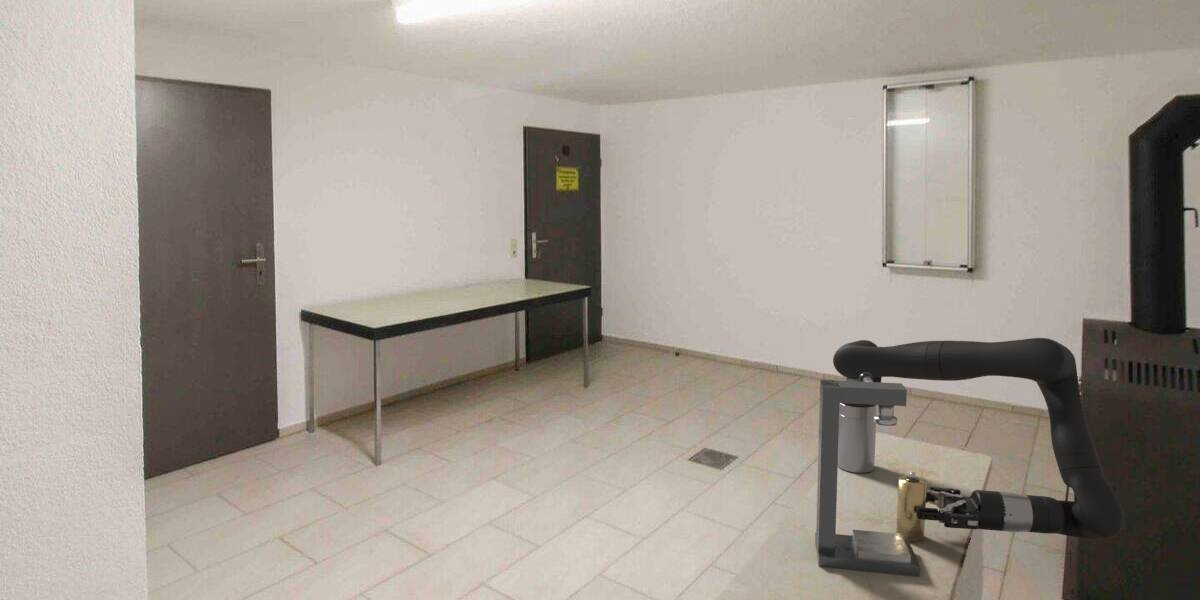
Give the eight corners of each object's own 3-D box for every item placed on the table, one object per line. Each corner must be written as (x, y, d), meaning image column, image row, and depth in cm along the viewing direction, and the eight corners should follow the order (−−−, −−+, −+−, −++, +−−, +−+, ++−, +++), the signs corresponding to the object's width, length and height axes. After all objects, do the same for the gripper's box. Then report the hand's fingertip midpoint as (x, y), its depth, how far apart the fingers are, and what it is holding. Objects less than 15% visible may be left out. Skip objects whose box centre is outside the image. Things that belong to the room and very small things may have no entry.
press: (900, 532, 142) (907, 371, 138) (919, 576, 125) (928, 394, 121) (812, 524, 146) (816, 368, 142) (818, 566, 129) (823, 389, 125)
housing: (890, 532, 142) (893, 469, 140) (911, 529, 143) (914, 466, 142) (908, 544, 137) (911, 479, 135) (929, 540, 138) (933, 475, 137)
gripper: (990, 479, 142) (906, 473, 146) (1014, 508, 128) (921, 500, 132) (988, 513, 143) (904, 507, 147) (1012, 546, 129) (919, 537, 133)
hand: (912, 504), depth 139 cm, fingers open, 8 cm apart
